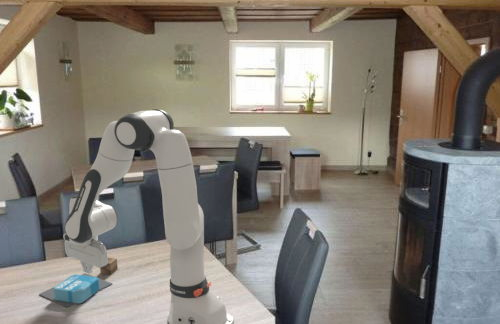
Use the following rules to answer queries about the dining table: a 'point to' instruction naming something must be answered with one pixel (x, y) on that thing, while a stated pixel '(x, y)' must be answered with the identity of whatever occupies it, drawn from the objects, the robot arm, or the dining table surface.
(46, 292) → the mat
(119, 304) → the dining table surface
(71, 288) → the data package
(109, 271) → the walnut cube
